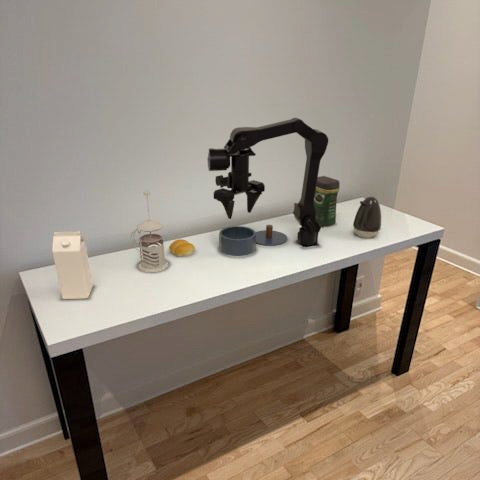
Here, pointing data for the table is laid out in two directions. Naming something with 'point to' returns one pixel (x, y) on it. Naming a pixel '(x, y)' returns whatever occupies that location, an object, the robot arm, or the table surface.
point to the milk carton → (72, 265)
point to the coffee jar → (326, 200)
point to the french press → (151, 260)
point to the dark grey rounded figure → (368, 218)
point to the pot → (237, 241)
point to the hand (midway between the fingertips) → (239, 215)
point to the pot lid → (270, 237)
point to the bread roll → (182, 248)
